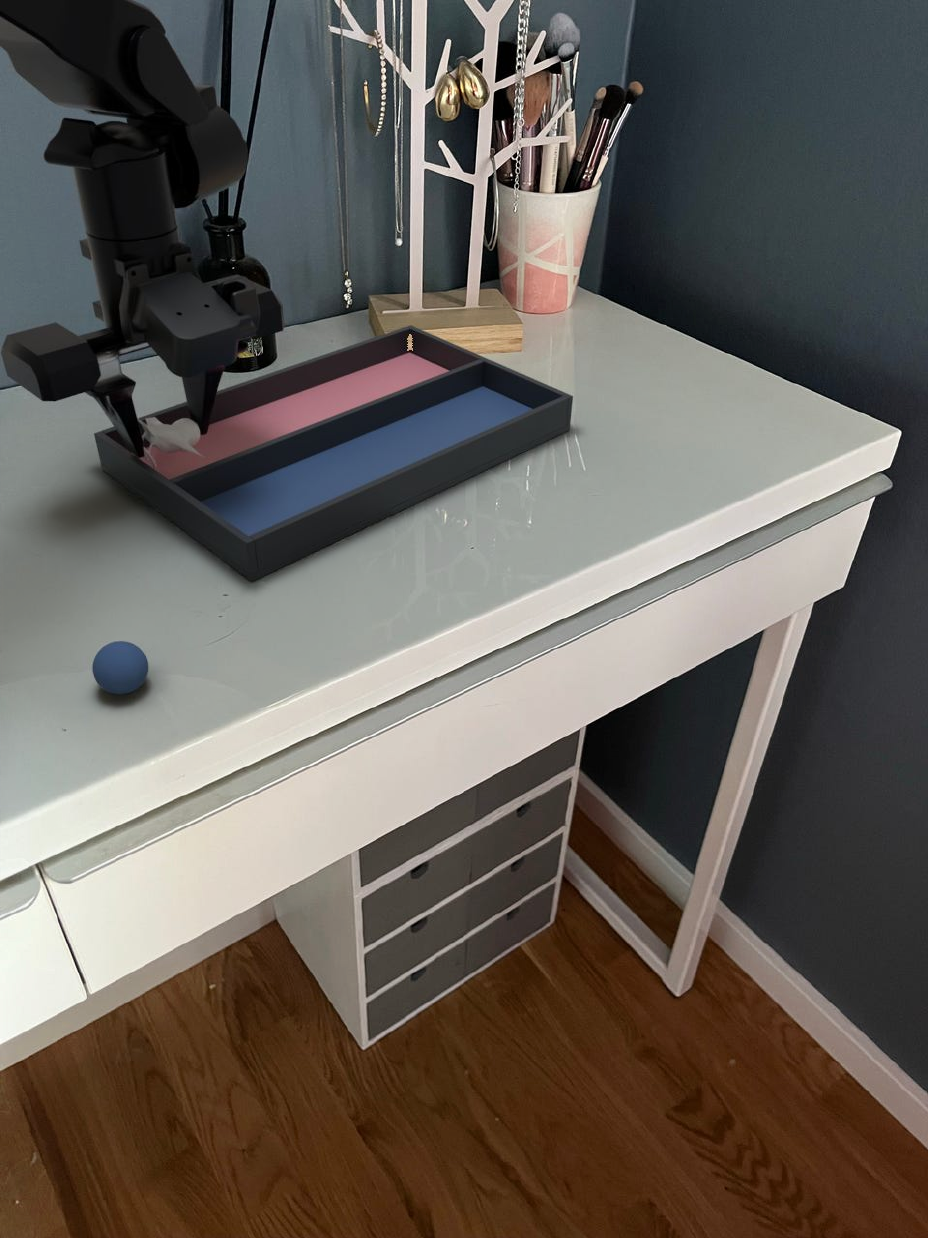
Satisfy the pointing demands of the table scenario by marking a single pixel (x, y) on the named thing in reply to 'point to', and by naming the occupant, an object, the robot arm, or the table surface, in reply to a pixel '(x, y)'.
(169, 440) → the white bird figurine
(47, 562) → the table surface
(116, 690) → the slate ball
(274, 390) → the tray
